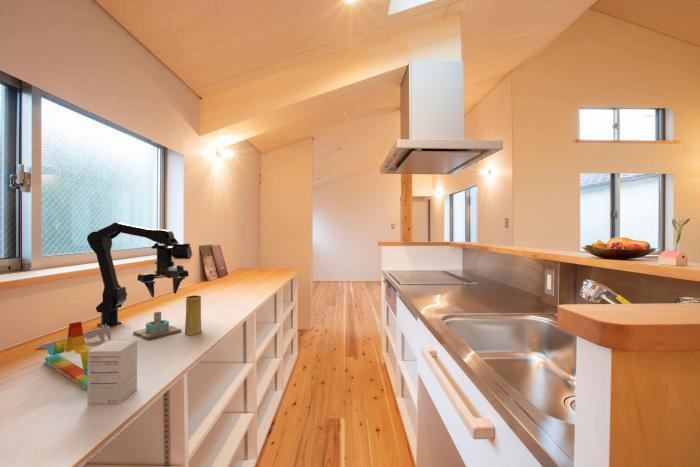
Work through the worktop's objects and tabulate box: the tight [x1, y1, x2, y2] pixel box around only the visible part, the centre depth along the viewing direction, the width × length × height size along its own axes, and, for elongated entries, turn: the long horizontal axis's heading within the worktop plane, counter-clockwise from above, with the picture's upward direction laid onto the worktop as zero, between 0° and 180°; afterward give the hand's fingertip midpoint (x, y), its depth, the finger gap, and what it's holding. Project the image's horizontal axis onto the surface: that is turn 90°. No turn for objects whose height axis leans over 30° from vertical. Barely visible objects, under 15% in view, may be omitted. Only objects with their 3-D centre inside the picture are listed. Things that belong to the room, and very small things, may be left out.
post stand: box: [132, 311, 182, 341], centre depth 124 cm, size 12×12×8 cm
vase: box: [184, 294, 203, 336], centre depth 125 cm, size 6×6×14 cm
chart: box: [44, 321, 93, 392], centre depth 89 cm, size 30×3×15 cm, turn 58°
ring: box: [145, 319, 170, 333], centre depth 124 cm, size 7×7×3 cm
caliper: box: [34, 324, 112, 350], centre depth 111 cm, size 20×1×6 cm, turn 119°
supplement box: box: [86, 339, 138, 406], centre depth 77 cm, size 7×7×13 cm
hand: (164, 295), depth 137 cm, fingers open, 9 cm apart
